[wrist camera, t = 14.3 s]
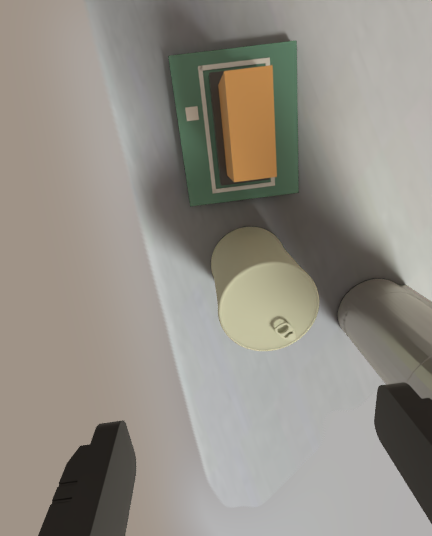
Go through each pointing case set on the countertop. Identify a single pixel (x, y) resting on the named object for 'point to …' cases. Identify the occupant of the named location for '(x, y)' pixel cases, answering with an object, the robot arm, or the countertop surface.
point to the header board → (280, 113)
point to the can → (261, 291)
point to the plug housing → (248, 123)
